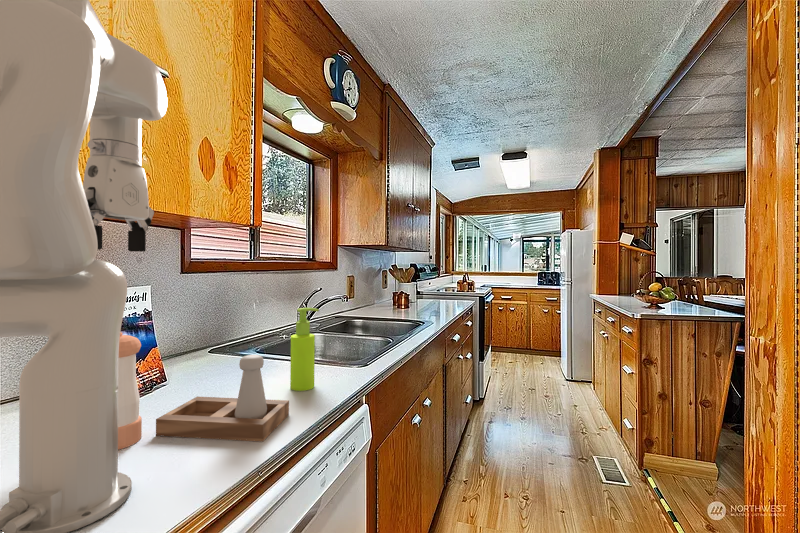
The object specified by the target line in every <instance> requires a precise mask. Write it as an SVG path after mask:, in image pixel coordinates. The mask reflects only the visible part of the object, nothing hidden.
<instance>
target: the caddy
mask: <svg viewBox="0 0 800 533" xmlns="http://www.w3.org/2000/svg"><path fill="white" fill-rule="evenodd" d="M237 400H238V397H236V398H235V397H219V396H217V397H216V396H214V397H213V396H196V397H194V398H192V399H190V400H188V401H187V402H185V403H183V404H181V405H179V406H177V407H176V408H173V409H172V410H170V411H169V412H166V413H165V414H162V415H161V416H159V417H158V418H156V419H155V436H156V437H171V438H187V439H191V438H192V439H207V440H224V441H225V440H226V441H246V442H259V443H260V442H261V443H263V442H264V441H265V440H266V439H267V438H268V437H269V436H270V435H271V434H272V433H273V432H274V431H275V430H276V429H277V428H278V427H279V426H280V424H282V423H283V422H284V421H285V420H286V419H287V418H288V417H289V416H290V400H288V399H287V400H283V399H282V400H281V399H266V405H267V413H266V415H265V417H264V418H263V419H249V418H236V417H235V409H236V405H237Z"/></svg>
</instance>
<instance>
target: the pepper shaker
mask: <svg viewBox="0 0 800 533" xmlns="http://www.w3.org/2000/svg"><path fill="white" fill-rule="evenodd" d="M141 347H142V343H141V341H140V339H139V338H138V337H136V336H132V335H129V334H124V333H123V332H122V331H120V340H119V358H118V451H119V450H122V449H125V448H128V447H130V446H133V445H134V444H136V443H138V442H139V441H140V440H141V439H142V434H143V432H142V430H143V429H142V426H143V425H142V420H143V419H142V416H141V415H140V400H141V399H140V392H139V387H138V381H137V373H136V372H137V357H136V356H137V354H138V353H140V350H141Z"/></svg>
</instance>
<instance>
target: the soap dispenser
mask: <svg viewBox="0 0 800 533" xmlns="http://www.w3.org/2000/svg"><path fill="white" fill-rule="evenodd" d="M296 311H297V312H299V320H297V321H296V322H295V334H292V335H290V370H289V371H290V381H289V382H290V383H289V384H290V385H289V386H290V390H291V391H297V392H298V391H299V392H303V391H310V390H311V389H314V388H315V361H316V360H315V359H316V357H315V353H316V351H315V349H316V348H315V342H316V340H315V338H316V335H315V334H314V333H311V331H310V330H311V326H310V325H311V324H310V323H311V322H310V320H308V319H307V312H310V311H311V312H319V311H320V309H319V308H315V307H301V308H297V309H296Z"/></svg>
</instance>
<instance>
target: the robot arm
mask: <svg viewBox="0 0 800 533" xmlns="http://www.w3.org/2000/svg"><path fill="white" fill-rule="evenodd" d="M167 95H168V94H167V89H166V85H165V83H164V79H163V77H162V74H161V72H160V70H159V68H158V66H157V65H156V64H155V62H153V60H151V59H150V58H149V57H147V55H146V54H143V53H142V52H140V51H139V50H137V49H135V48H133V47H131V46H130V45H129V44H127V43H125V42H124V41H123V40H120V39H118V38H117V37H115V36H113V35H111V34H109V33H107V31H106V29H105V28H104V26H103V25H102V23H101V21H100V19H99V17H98V15H97V13H96V12H95V9H94V8H93V6H92V4H91V2H90V0H0V338H12V337H14V338H15V337H28V336H33V337H47V338H48V340H47V342H46V343H45V345H44V346H42V348H40V349H39V350H38V351H37V352H36V353H35V354H34V355H33V356H32V357H31V358H30V359H29V361H27V363H26V364H25V365H24V367H23V369H22V371H21V374H20V377H19V390H18V396H19V401H18V402H19V404H18V405H19V406H18V407H19V411H18V418H19V420H18V422H19V424H18V428H19V429H18V430H19V431H18V432H19V433H18V435H19V436H18V438H19V439H18V442H19V443H18V456H19V457H18V478H19V479H18V487H17V488H14V489H13V490H11V491H9V492H8V502H7V503H5V504H4V505H3V506H2V507H1V509H0V530H2V532H4V533H70V532H72V531H76V530H78V529H81V528H83V527H86V526H88V525H90V524H91V525H92V524H93V523H95V522H97V521H98V520H99V521H100V520H101V519H104V517H106V516H108V515H109V514H111V513H112V512H114V511H115V510H117V509H118V508H119V507H121V506H122V505H123V504H124V502H126V500H127V499H128V498H129V496H130V495H131V492H132V488H133V486H132V484H133V482H132V479H131V477H130V476H129V475H127V474H125V473H123V472H119V471H118V470H119V468H118V467H119V464H118V462H119V461H118V460H119V456H118V455H119V450H118V358H119V340H120V332H122V331H121V328H122V324H123V323H122V322H123V318H124V313H125V309H126V308H125V307H126V303H127V295H128V280H127V279H126V276H125V273H124V272H123V271H122V269H120V268H119V267H117V266H116V265H114V264H113V263H110V262H107V261H104V260H101V259H96V258H97V255H98V251H99V250H102V249H103V226H102V225H99V224H100V223H101V222H102V221H103V220H104V219H106V218H107V219H113V220H119V221H120V220H122V221H125V222H126V223H127V225H128V227H129V228H130V230H128V231H127V232H128V233H127V250H128V251H129V252H140V253H141V252H143V253H144V252H146V250H147V249H146V243H147V242H146V241H147V240H146V238H147V236H146V235H147V234H146V233H147V232H148V231H149V226H150V225H151V224H152V220H153V217H154V214H155V211H154V210H153V209H152V208H151V207H150V203H149V202H150V201H149V191H148V190H149V189H148V182H147V176H146V172H145V168H143V167H142V138H143V137H142V135H143V134H142V131H143V130H142V125H143V123H142V122H143V121H148V122H149V121H151V122H152V121H153V122H154V121H159V120H161V119H162V118H163V117H164V116H165V115H166V112H167V108H168V97H167ZM88 127H89V140H88V142H87V147H88V149H89V157H88V158H87V161H86V164H85V169H84V173H83V174H84V175H83V182H82V179H81V178H82V177H81V175H80V174H81V173H80V170H79V157H80V151H81V148H82V145H83V141H84V139H85V137H86V133H87V131H88Z"/></svg>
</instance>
